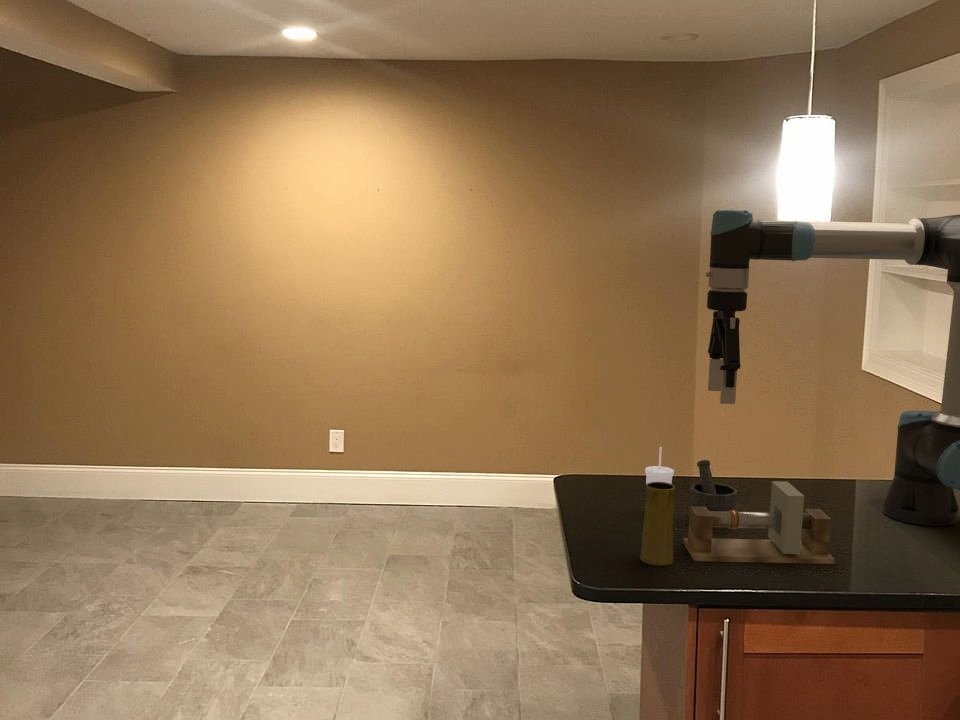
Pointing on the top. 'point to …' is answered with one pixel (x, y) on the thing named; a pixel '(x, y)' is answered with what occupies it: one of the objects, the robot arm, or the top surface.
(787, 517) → the collar
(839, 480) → the top surface
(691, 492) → the mortar and pestle
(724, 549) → the stand
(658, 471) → the beverage cup
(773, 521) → the pipe
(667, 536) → the vase
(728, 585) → the top surface
